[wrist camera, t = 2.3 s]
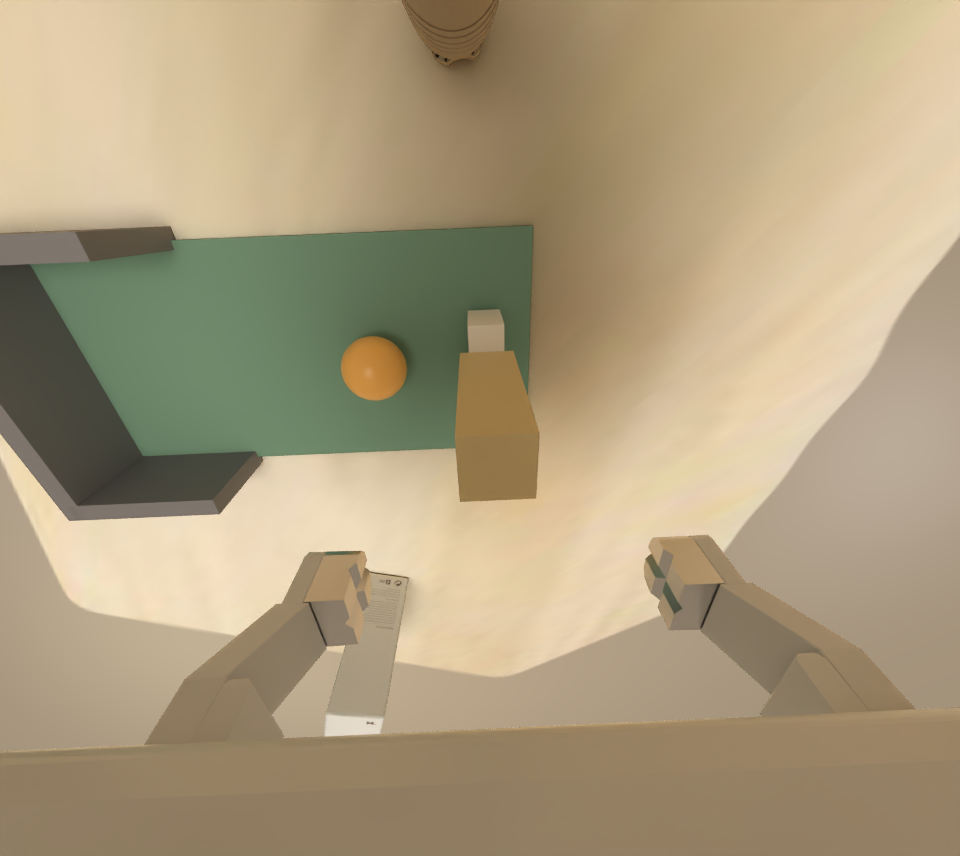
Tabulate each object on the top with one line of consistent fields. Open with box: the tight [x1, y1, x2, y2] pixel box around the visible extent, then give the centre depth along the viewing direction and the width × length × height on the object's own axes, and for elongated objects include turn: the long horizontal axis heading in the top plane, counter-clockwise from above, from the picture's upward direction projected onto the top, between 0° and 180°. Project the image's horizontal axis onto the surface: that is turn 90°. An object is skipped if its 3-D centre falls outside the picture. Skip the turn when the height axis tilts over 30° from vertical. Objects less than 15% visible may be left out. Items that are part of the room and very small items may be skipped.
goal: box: [0, 226, 263, 521], centre depth 23 cm, size 16×10×6 cm, turn 2°
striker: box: [455, 309, 539, 502], centre depth 19 cm, size 6×3×13 cm, turn 2°
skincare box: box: [324, 573, 408, 736], centre depth 33 cm, size 6×4×12 cm
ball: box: [341, 336, 407, 401], centre depth 24 cm, size 4×4×4 cm
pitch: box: [30, 226, 533, 457], centre depth 25 cm, size 15×31×1 cm, turn 92°
